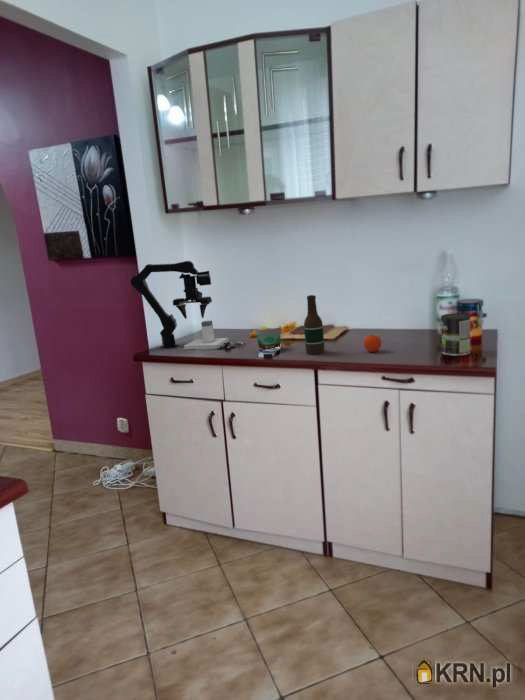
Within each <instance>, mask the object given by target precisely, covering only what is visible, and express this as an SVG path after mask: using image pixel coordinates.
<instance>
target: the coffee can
mask: <svg viewBox="0 0 525 700" xmlns="http://www.w3.org/2000/svg"><path fill="white" fill-rule="evenodd" d="M440 319H441V320H440V321H441V323H440V324H441V325H440V326H441V354H443V355H445V356H451V357H453V356H454V357H458V356H459V357H460V356H466V355H467V356H468V355H470V354H471V315H470V314H469V313H447V314H443V315H441V316H440Z"/></svg>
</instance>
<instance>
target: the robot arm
mask: <svg viewBox="0 0 525 700" xmlns="http://www.w3.org/2000/svg"><path fill="white" fill-rule="evenodd" d="M162 272H163V273H167V272H168V273H169V272H177V273H181V274H180V276H179V277H178V278H179V279H180V280H181V279H182V280H183V287H184V289H183V293H185V294H184V295H185V297H180V298H179V297H177V298H175V299H173V300H172V306H175V308H177V309H178V310H179V311H180V313H181V315H182V317H184V319H185V320H187V310H186V307H187V306H186V304H192V303H193V304H195V303H197V304H198V303H199V309H200V316H201V319H204V317H205V313H206V308H207V306H209V305H210V304H211V303H212V302H213V300H212V297H211V296H203V292H201V291H199V288H198V287H197V285H199V286H200V287H202V286H210V285H211V286H212V278H211V274H210V270H205V271H198V270H197V268H196V267H195V265H194V263H193V262H192V261H191V260H184V261H180V262H176V263H159V264H158V263H157V264H155V263H154V264H151V263H149V264H146V265H145V266H144V267H143V269H142V270H140V272H139V273H138V274H137V275H134V276H132V278H131V279H130V285H131V286H132V287H133V289H135V290H136V291H137V292H138V293H140V294H141V295H142V296H143V298H144V300H146V302H147V304H149V306H150V307H151V308H152V310H153V311H154V312H155V314H156V315H157V317H158V318H159V321H160V323H161V326H162V327H163V328H162V329H161V331H160V332H159V334H160V337H161V342H162V343H161V346H160V347H159V348H162V349H163V348H164V349H170V348H174V347H178V346H179V345H178V344H176V339H175V334H174V332H175V330H176V328H177V326H178V323H177V319H176V318H175V317H174V315H173V314H172V313H171V314H170V315H169V314H168V313H167V312H166V310H165V309H164V308H163V306H162V305H161V304H160V302H159V301H158V299H157V298H156V297H155V295H154V294H153V292H152V291H151V290H150V287H149V286H148V285H149V284H148V283H147V281H146V279H147V278H148V277H149V276H150V275H151V274H152V273H162Z"/></svg>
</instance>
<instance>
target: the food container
mask: <svg viewBox="0 0 525 700" xmlns="http://www.w3.org/2000/svg"><path fill="white" fill-rule="evenodd" d="M282 332H283V330H282V327H281V326H279V327H276V328H265V329H255V331H254V335H256V340H257V344H258V349H259V351H260V352H261V351H263V350H265V349H271V348H275V347H278V346H279V347H280V348H281V333H282Z"/></svg>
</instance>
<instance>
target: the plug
mask: <svg viewBox="0 0 525 700" xmlns="http://www.w3.org/2000/svg"><path fill="white" fill-rule="evenodd" d="M200 324H201V332H202V339H203V341H204V343H212V342H214V338H215V335H214V332H215V331H214V325H213V320H204V321H202V322H200Z"/></svg>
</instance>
